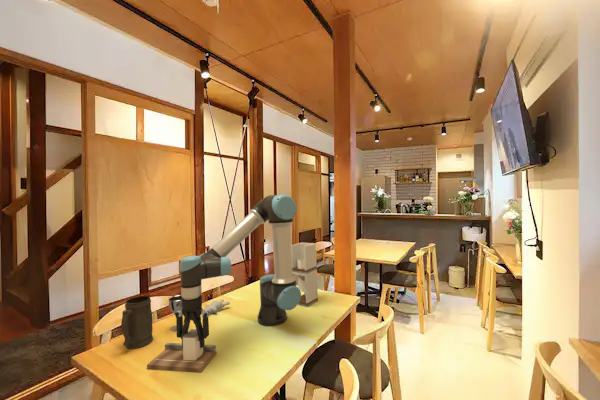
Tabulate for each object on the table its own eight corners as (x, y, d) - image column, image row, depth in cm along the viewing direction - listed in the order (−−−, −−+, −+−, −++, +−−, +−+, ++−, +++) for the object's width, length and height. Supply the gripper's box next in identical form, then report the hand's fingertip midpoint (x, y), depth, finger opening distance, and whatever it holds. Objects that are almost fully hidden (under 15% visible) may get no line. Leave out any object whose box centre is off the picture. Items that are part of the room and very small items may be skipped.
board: (216, 353, 110) (216, 345, 110) (201, 372, 98) (200, 362, 98) (167, 351, 113) (167, 342, 113) (146, 368, 101) (146, 359, 101)
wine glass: (180, 332, 130) (179, 301, 130) (166, 331, 131) (165, 300, 131) (190, 324, 137) (189, 295, 137) (176, 323, 139) (175, 294, 139)
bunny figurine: (198, 307, 151) (220, 295, 162) (199, 315, 151) (221, 304, 163) (208, 310, 145) (230, 298, 157) (209, 319, 145) (231, 307, 157)
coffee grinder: (303, 297, 170) (301, 242, 171) (317, 300, 164) (315, 243, 164) (292, 303, 161) (290, 245, 161) (307, 307, 155) (305, 246, 155)
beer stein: (134, 336, 127) (131, 295, 126) (157, 334, 128) (155, 293, 127) (114, 357, 112) (111, 310, 110) (141, 355, 113) (138, 309, 111)
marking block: (203, 351, 109) (202, 329, 109) (195, 360, 103) (194, 337, 103) (191, 351, 109) (191, 329, 109) (183, 359, 103) (182, 336, 104)
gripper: (217, 293, 109) (219, 350, 108) (176, 292, 111) (178, 348, 111) (208, 300, 101) (210, 362, 101) (164, 299, 104) (166, 359, 104)
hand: (193, 354), depth 106 cm, fingers closed on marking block, 5 cm apart
